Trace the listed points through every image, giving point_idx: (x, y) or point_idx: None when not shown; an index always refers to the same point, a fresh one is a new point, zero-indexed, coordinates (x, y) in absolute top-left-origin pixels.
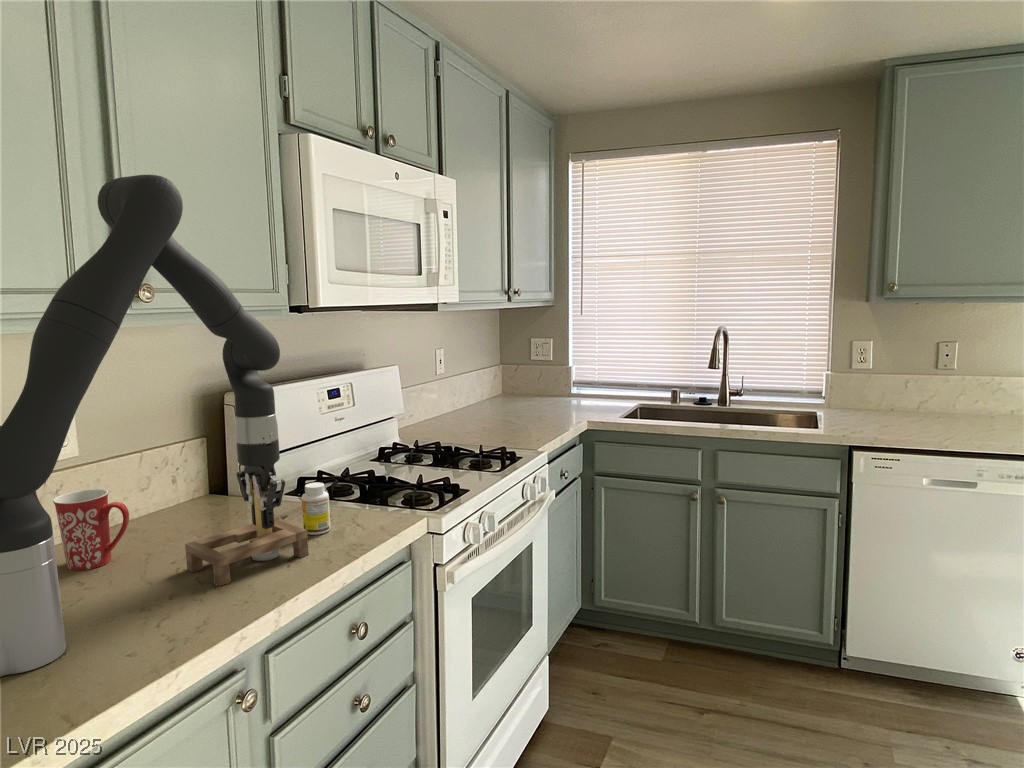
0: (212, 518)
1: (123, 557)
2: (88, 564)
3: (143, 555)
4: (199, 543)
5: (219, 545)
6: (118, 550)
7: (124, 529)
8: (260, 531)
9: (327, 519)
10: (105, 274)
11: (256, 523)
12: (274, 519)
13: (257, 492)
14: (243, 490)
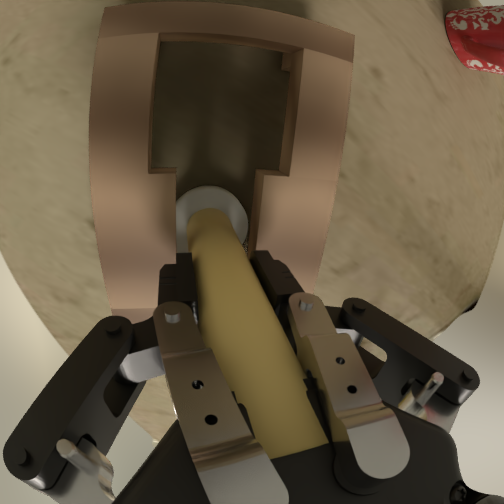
0: (451, 263)
1: (453, 71)
2: (452, 15)
3: (441, 87)
4: (318, 51)
5: (286, 111)
6: (474, 95)
7: (490, 51)
8: (204, 241)
9: None
10: None
11: (229, 252)
12: None
13: (203, 384)
14: (391, 334)
